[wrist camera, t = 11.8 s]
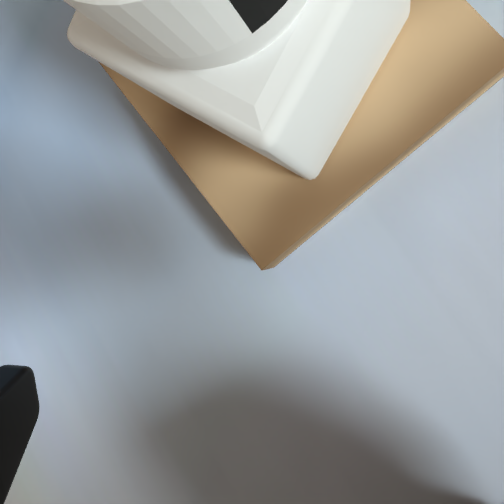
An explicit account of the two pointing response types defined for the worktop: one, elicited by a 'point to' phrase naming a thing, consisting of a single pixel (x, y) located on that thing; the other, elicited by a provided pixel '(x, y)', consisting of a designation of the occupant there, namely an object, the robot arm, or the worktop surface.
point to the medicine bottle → (249, 63)
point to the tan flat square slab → (351, 140)
